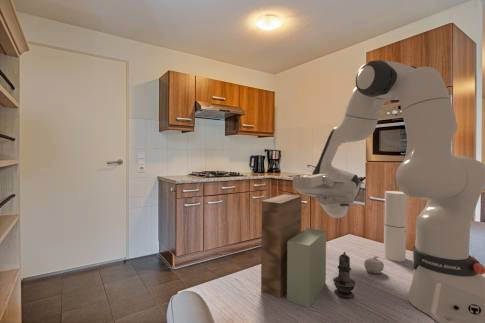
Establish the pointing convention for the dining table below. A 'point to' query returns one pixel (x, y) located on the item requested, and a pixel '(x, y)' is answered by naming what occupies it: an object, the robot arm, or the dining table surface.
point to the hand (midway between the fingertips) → (318, 178)
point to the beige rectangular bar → (308, 181)
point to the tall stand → (277, 240)
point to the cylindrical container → (395, 225)
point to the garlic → (373, 265)
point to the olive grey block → (306, 266)
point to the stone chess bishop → (344, 279)
